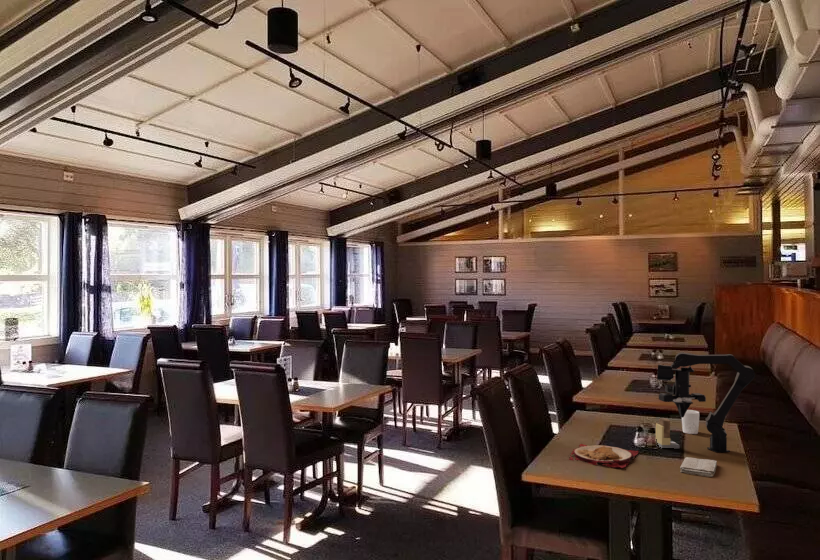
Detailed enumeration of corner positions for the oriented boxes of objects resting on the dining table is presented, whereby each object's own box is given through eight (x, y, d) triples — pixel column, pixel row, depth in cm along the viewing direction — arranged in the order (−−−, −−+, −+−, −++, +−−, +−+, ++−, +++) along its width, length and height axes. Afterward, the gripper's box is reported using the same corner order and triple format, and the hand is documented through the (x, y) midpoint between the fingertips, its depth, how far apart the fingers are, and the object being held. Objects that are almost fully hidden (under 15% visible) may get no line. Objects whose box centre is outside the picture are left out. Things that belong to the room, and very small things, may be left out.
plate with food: (638, 455, 261) (638, 447, 261) (623, 470, 239) (623, 461, 239) (580, 447, 274) (580, 439, 274) (561, 461, 252) (561, 452, 252)
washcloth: (679, 474, 236) (679, 466, 236) (684, 461, 252) (684, 454, 252) (714, 479, 230) (714, 470, 230) (717, 466, 246) (717, 458, 246)
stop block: (665, 441, 274) (665, 418, 274) (669, 443, 270) (670, 420, 270) (658, 441, 274) (659, 418, 274) (663, 443, 270) (663, 420, 270)
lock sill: (672, 444, 276) (672, 423, 276) (679, 448, 269) (679, 426, 269) (655, 444, 275) (655, 423, 275) (661, 448, 269) (662, 426, 269)
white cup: (695, 430, 301) (696, 410, 301) (701, 434, 293) (702, 413, 293) (678, 430, 302) (679, 409, 302) (684, 434, 294) (684, 413, 294)
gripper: (693, 378, 280) (693, 413, 281) (653, 378, 279) (652, 413, 279) (706, 382, 269) (706, 418, 269) (664, 382, 268) (664, 418, 268)
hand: (681, 417), depth 272 cm, fingers closed
